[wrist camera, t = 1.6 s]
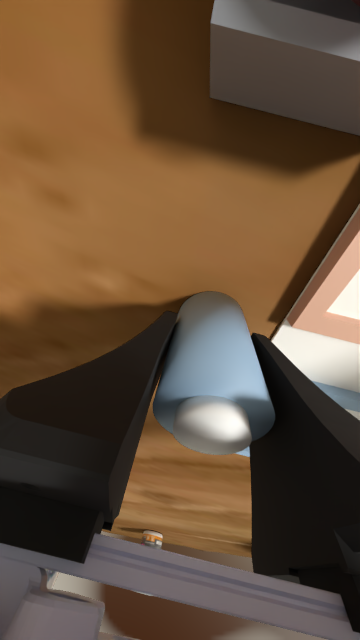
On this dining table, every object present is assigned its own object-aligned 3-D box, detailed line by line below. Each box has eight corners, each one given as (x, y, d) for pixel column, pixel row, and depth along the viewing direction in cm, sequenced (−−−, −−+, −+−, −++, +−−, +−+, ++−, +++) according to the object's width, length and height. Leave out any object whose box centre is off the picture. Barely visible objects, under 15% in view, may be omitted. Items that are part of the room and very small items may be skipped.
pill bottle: (154, 529, 50) (143, 593, 42) (166, 535, 52) (158, 597, 44) (139, 529, 52) (127, 589, 44) (152, 534, 55) (142, 593, 46)
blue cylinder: (255, 301, 10) (313, 420, 4) (229, 352, 12) (246, 474, 7) (185, 283, 10) (156, 380, 4) (172, 337, 12) (142, 447, 7)
